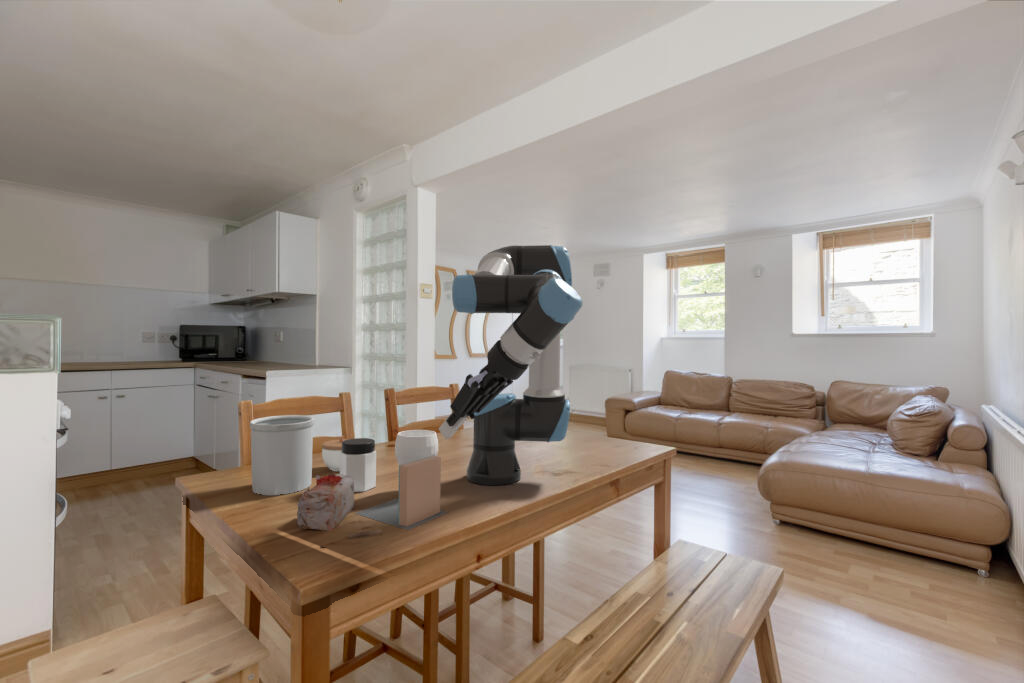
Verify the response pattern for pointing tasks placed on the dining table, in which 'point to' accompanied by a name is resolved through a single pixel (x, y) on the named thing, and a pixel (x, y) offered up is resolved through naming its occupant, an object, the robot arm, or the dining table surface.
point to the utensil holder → (281, 454)
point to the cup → (415, 445)
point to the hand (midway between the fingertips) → (444, 433)
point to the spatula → (363, 534)
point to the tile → (419, 490)
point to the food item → (326, 502)
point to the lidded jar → (332, 453)
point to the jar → (359, 462)
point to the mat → (392, 514)
